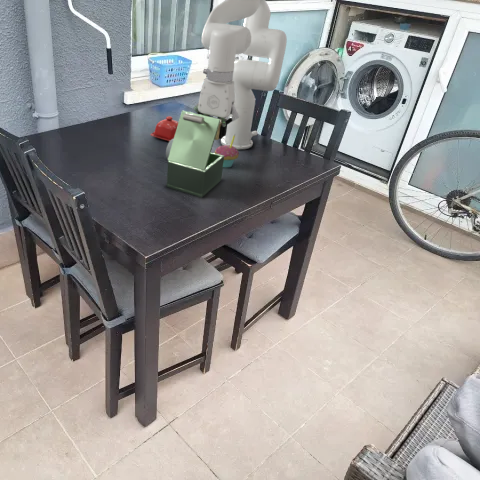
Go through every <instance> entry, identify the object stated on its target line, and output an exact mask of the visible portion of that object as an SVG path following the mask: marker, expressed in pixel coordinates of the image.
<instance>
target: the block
mask: <svg viewBox="0 0 480 480" xmlns="http://www.w3.org/2000/svg"><path fill="white" fill-rule="evenodd" d="M216 118H217V119H220V123H219V127H218V130H217V133H216V137H215V140H214V141H218V140H220V139H219V133H220V126H222V122H221V118H219V117H216Z"/></svg>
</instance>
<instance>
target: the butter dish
mask: <svg viewBox="0 0 480 480" xmlns="http://www.w3.org/2000/svg"><path fill="white" fill-rule="evenodd" d="M178 123H179V121H177V120H175V119H173V117H172V116H170V115H169V116H166V117H165V119H162V120H160V121H159V122H157V124H156V125H155V129H154V131H153V132H151V133H150V136H151V137H154V138H157V139H159V140H163V141H167V142H170V141H171V140H172V139H174V136H175V133H176V130H177V126H178Z"/></svg>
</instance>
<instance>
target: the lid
mask: <svg viewBox="0 0 480 480" xmlns="http://www.w3.org/2000/svg"><path fill="white" fill-rule="evenodd" d="M217 118H218V117H214V116H210V115H209V116H204V115H200V114H198V113H196V112H195V113H194V112H191V111H186V110H181V112H180V117H179V119H178V122H179V123H178V126H177V130H176V133H175V136H174V140H173V143H172V147H171V150H170V154H169V157H168V159H167V162H168V161H172V162H176V163H179V164H183V165H186V166H190V167H193V168H197V169H201V170H204V171H205V169H206V166H207V163H208V160H209V156H210V153H211V152H212V150H213V146H214V143H215V141H216V140H215V137H216V133H217V130H218V127H219V123H220V119H221V118H218V119H217Z"/></svg>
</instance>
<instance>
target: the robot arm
mask: <svg viewBox="0 0 480 480" xmlns="http://www.w3.org/2000/svg"><path fill="white" fill-rule="evenodd" d="M271 16H272V14H271V9H270V7H269V4H268V2H267V1H266V0H223V1H222V2H221V3H219V4H218V5H216V6H215V7H214V8H213V9H212V10H211V11H210V13H209V15H208V17H207V19H206V22H205V25H204V27H203V29H202V34H201V44H202V46H203V48H204V49H206V50H207V51H208V60H207V61H208V62H207V68H203V70H202V73H203V74H204V75H205V76H206V77H205V78H204V79H203V81H202V84H201V88H200V94H199V98H198V102H197V103H196V104H195V105H194V106H193V110H194V111H195V114H200V115H204V116H209V117H215V118H220V119H221V122H222V126H220V133H219V139H218V140H220V144H221V146H224V145H231V141H232V138H233V136H234V135H235V138H234V141H233V145H232V146H233V147H235V148H236V149H237V150H247V149H250V148H252V147H253V144H254V142H253V140H252V138H253V137H256V136H258V134H259V133H258V131H257V130H253V131H252V125H253V118H254V113H255V105H256V97H255V95H254V92H253V90H256V91H257V90H258V91H264V92H272V91H275V90H276V89H277V87H278V85H279V81H280V78H281V72H282V68H283V63H284V59H285V54H286V49H287V42H288V41H287V33H286V32H285V31H283V30H281V29H277V28H269V25H270V20H271ZM243 19H244V22H243V25H236V24H229V23H232V22H237V21H241V20H243ZM241 54H242V55H245V56H248V57H255V58H263V59H268V60H269V62H266V61H260V60H252V59H238V60H236V55H241Z"/></svg>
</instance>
